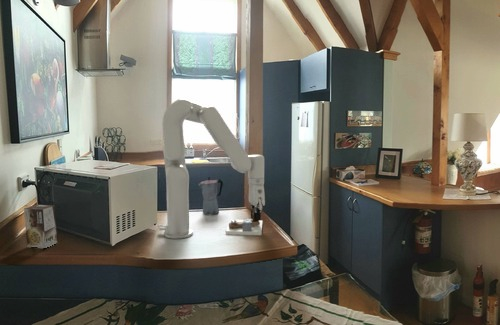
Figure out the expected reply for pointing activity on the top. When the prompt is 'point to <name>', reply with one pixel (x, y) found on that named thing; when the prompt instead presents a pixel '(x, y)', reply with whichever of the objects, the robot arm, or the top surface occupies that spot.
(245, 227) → the keeper
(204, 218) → the top surface
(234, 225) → the walnut link
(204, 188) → the moka pot
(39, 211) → the coffee box
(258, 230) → the base plate
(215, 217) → the top surface
